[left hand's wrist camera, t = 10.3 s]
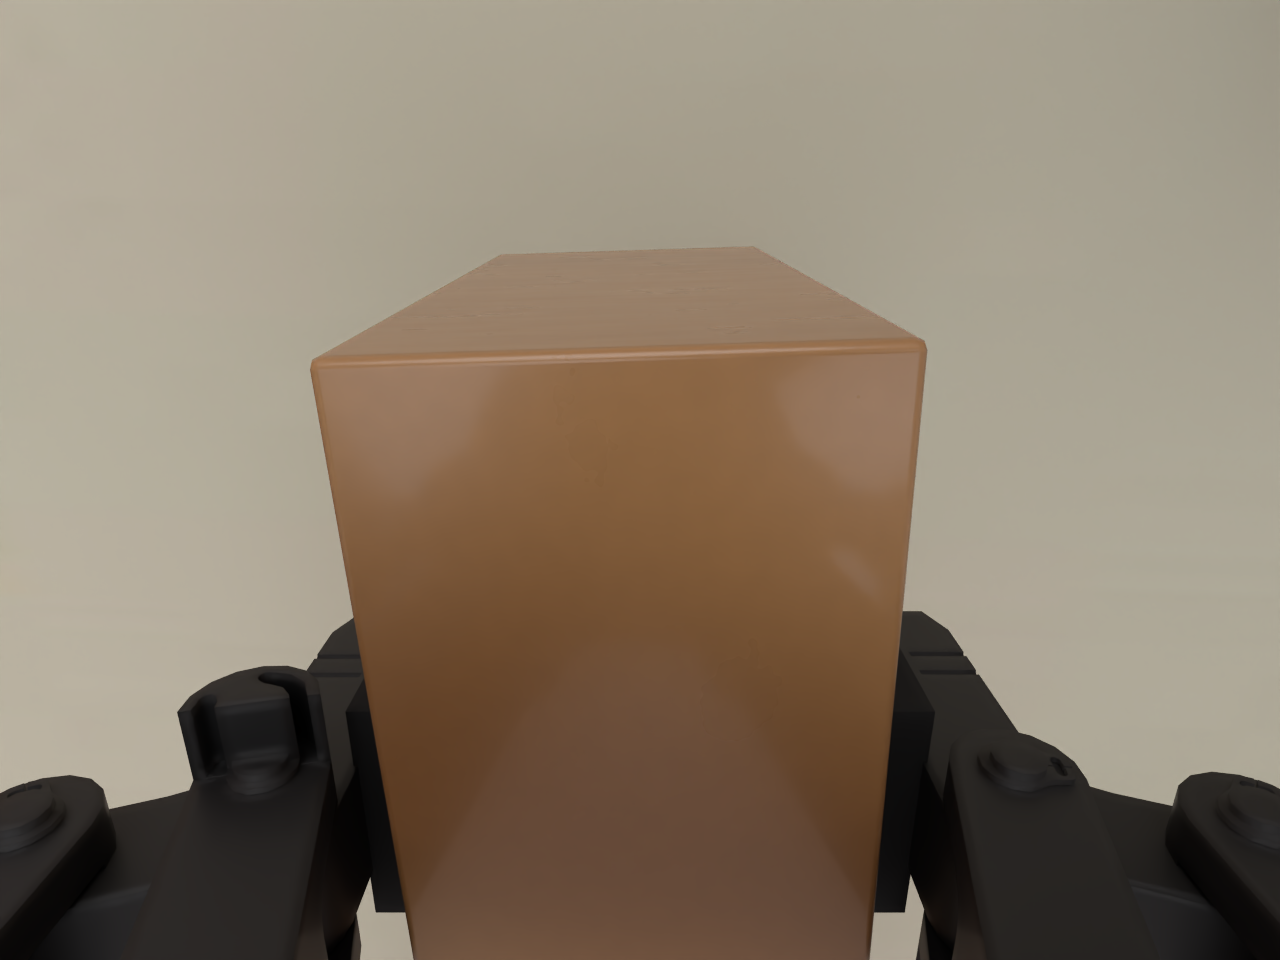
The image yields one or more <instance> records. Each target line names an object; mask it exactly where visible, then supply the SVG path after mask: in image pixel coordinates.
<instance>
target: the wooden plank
mask: <svg viewBox="0 0 1280 960" xmlns="http://www.w3.org/2000/svg"><path fill="white" fill-rule="evenodd" d="M926 358H927V348H926V344H925V341H924V340H922V339H920V338H918V337H917V336H915V335H913V334H911V333H909V332H908V331H906V330H904V329H902V328H900V327H899V326H897V325H895V324H893V323H891V322H889V321H888V320H886V319H884V318H882V317H880V316H879V315H877V314H875V313H873V312H871V311H870V310H868V309H866V308H864V307H862V306H861V305H859V304H857V303H855V302H853V301H851V300H850V299H848V298H846V297H844V296H842V295H841V294H839V293H837V292H835V291H833V290H832V289H830V288H828V287H826V286H824V285H823V284H821V283H819V282H817V281H815V280H813V279H812V278H810V277H808V276H806V275H804V274H803V273H801V272H799V271H797V270H795V269H794V268H792V267H790V266H788V265H786V264H785V263H783V262H781V261H779V260H777V259H775V258H774V257H772V256H770V255H768V254H766V253H765V252H763V251H761V250H759V249H757V248H755V247H724V248H693V249H661V250H630V251H599V252H567V253H536V254H505V255H500V256H498V257H496V258H494V259H492V260H490V261H489V262H487V263H485V264H483V265H481V266H480V267H478V268H476V269H474V270H472V271H471V272H469V273H467V274H465V275H464V276H462V277H460V278H458V279H456V280H455V281H453V282H451V283H449V284H447V285H446V286H444V287H442V288H440V289H438V290H437V291H435V292H433V293H431V294H430V295H428V296H426V297H424V298H422V299H421V300H419V301H417V302H415V303H413V304H412V305H410V306H408V307H406V308H404V309H403V310H401V311H399V312H397V313H396V314H394V315H392V316H390V317H388V318H387V319H385V320H383V321H381V322H379V323H378V324H376V325H374V326H372V327H370V328H369V329H367V330H365V331H363V332H362V333H360V334H358V335H356V336H354V337H353V338H351V339H349V340H347V341H345V342H344V343H342V344H340V345H338V346H336V347H335V348H333V349H331V350H329V351H328V352H326V353H324V354H322V355H320V356H319V357H317V358H315V359H313V360H312V363H311V368H310V371H311V377H312V383H313V388H314V394H315V400H316V405H317V411H318V417H319V423H320V428H321V434H322V440H323V445H324V451H325V457H326V462H327V468H328V474H329V479H330V485H331V491H332V497H333V502H334V508H335V514H336V519H337V525H338V531H339V536H340V542H341V548H342V554H343V559H344V565H345V571H346V576H347V582H348V588H349V593H350V599H351V605H352V611H353V616H354V622H355V628H356V633H357V639H358V645H359V650H360V656H361V662H362V668H363V673H364V679H365V685H366V690H367V696H368V702H369V707H370V713H371V719H372V724H373V730H374V736H375V742H376V747H377V753H378V759H379V764H380V770H381V776H382V781H383V787H384V793H385V799H386V804H387V810H388V816H389V821H390V827H391V833H392V838H393V844H394V850H395V855H396V861H397V867H398V873H399V878H400V884H401V890H402V895H403V901H404V907H405V912H406V918H407V924H408V930H409V935H410V941H411V947H412V952H413V958H414V960H870V950H871V939H872V929H873V918H874V907H875V897H876V886H877V876H878V865H879V855H880V844H881V834H882V823H883V812H884V802H885V791H886V781H887V770H888V760H889V749H890V739H891V728H892V717H893V707H894V696H895V686H896V675H897V665H898V654H899V643H900V633H901V622H902V612H903V601H904V591H905V580H906V570H907V559H908V548H909V538H910V527H911V517H912V506H913V496H914V485H915V475H916V464H917V453H918V443H919V432H920V422H921V411H922V401H923V390H924V379H925V369H926Z"/></svg>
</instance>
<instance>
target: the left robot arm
mask: <svg viewBox="0 0 1280 960" xmlns="http://www.w3.org/2000/svg"><path fill="white" fill-rule="evenodd" d="M177 713H178V717H179V722H180V726H181V730H182V734H183V738H184V743H185V747H186V751H187V755H188V759H189V763H190V768H191V772H192V776H193V783H192V785H191V788H190V790H189V791H186V792H182V793H179V794H175V795H172V796H168V797H163V798H159V799H154V800H150V801H145V802H141V803H136V804H131V805H127V806H122V807H118V808H113V809H109V808H108V804H107V801H106V797H105V794H104V790H103V788H101V787H100V786H99V785H98V784H97V783H96V782H94V781H93V780H92V779H89V778H83V777H78V776H72V775H67V776H59V777H50V778H42V779H39V780H35V781H31V782H28V783H26V784H21V785H18V786H15V787H13V788H10V789H8V790H6V791H4V792H2V793H0V960H360V953H361V940H360V933H359V926H358V920H357V914H356V913H357V910H358V907H359V905H360V902H361V900H362V897H363V895H364V892H365V889H366V887H367V884H368V882H369V879H370V877H371V884H372V890H373V897H374V904H375V910H376V912H405V907H404V901H403V895H402V890H401V884H400V878H399V873H398V867H397V861H396V855H395V850H394V844H393V838H392V833H391V827H390V821H389V816H388V810H387V804H386V799H385V793H384V787H383V781H382V776H381V770H380V764H379V759H378V753H377V747H376V742H375V736H374V730H373V724H372V719H371V713H370V707H369V702H368V696H367V690H366V685H365V679H364V673H363V668H362V662H361V656H360V650H359V645H358V639H357V633H356V628H355V622H354V618H353V619H351V620H350V621H348V622H347V623H346V624H344V625H343V626H341V627H340V628H338V629H337V630H335V631H334V632H333V633H332V634H331V635H330V637H329V638H328V640H327V641H326V643H325V644H324V646H323V647H322V649H321V650H320V652H319V653H318V657H317V659H314V660H313V662H312V663H311V665H310V666H309V668H308V669H307V671H306V670H302V669H298V668H294V667H290V666H262V667H258V668H253V669H248V670H244V671H239V672H235V673H233V674H230V675H228V676H226V677H223V678H221V679H218V680H216V681H213V682H211V683H209V684H208V685H206V686H205V687H203V688H202V689H200V690H199V691H197V692H196V693H194V694H193V695H191V696H190V697H189V698H188V700H187V701H186V702H185V703H184V704H183V706H182V707H181V708H180V709H179V711H178V712H177ZM910 874H911V876H912V879H913V882H914V884H915V887H916V889H917V892H918V894H919V897H920V900H921V902H922V905H923V907H924V914H923V920H922V926H921V933H920V939H919V945H918V951H917V957H916V960H1280V789H1279V788H1277V787H1275V786H1273V785H1271V784H1268V783H1265V782H1262V781H1259V780H1258V781H1257V780H1254V779H1253V778H1248V777H1245V776H1241V775H1235V774H1226V773H1218V772H1208V773H1202V774H1196V775H1190V776H1189V777H1188V778H1187V779H1186V780H1184V781H1183V782H1182V783H1181V784H1180V785H1179V786H1178V789H1177V793H1176V796H1175V800H1174V803H1173V806H1170V805H1165V804H1160V803H1156V802H1151V801H1146V800H1142V799H1137V798H1133V797H1128V796H1123V795H1119V794H1114V793H1110V792H1107V791H1103V790H1100V789H1096V788H1093V787H1090V786H1089V784H1088V781H1087V779H1086V778H1085V776H1084V775H1083V773H1082V772H1081V770H1080V769H1079V768H1078V766H1077V765H1076V763H1075V762H1074V761H1073V760H1071V759H1070V758H1069V757H1067V756H1066V755H1065V754H1063V753H1062V752H1061V751H1059V750H1058V749H1057V748H1056V747H1054V746H1052V745H1050V744H1047V743H1045V742H1043V741H1041V740H1039V739H1037V738H1035V737H1032V736H1030V735H1026V734H1022V733H1019V732H1018V731H1017V730H1016V728H1015V727H1014V725H1013V724H1012V722H1011V721H1010V719H1009V718H1008V716H1007V715H1006V713H1005V712H1004V711H1003V709H1002V708H1001V706H1000V705H999V703H998V702H997V700H996V699H995V697H994V696H993V694H992V693H991V692H990V690H989V689H988V687H987V686H986V684H985V683H984V681H983V680H982V678H981V677H980V675H976V670H975V668H974V667H973V665H972V664H971V662H970V661H969V659H968V658H967V656H964V655H963V651H962V649H961V648H960V646H959V645H958V643H957V642H956V640H955V639H954V637H953V636H952V635H951V633H950V632H949V630H948V629H946V628H945V627H943V626H942V625H940V624H939V623H937V622H936V621H935V620H933V619H932V618H930V617H929V616H927V615H926V614H924V613H923V612H922V611H903V612H902V622H901V633H900V643H899V654H898V665H897V675H896V686H895V696H894V707H893V717H892V728H891V739H890V749H889V760H888V770H887V781H886V791H885V802H884V812H883V823H882V834H881V844H880V855H879V865H878V876H877V886H876V897H875V907H874V912H905V907H906V900H907V894H908V887H909V881H910Z"/></svg>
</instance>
